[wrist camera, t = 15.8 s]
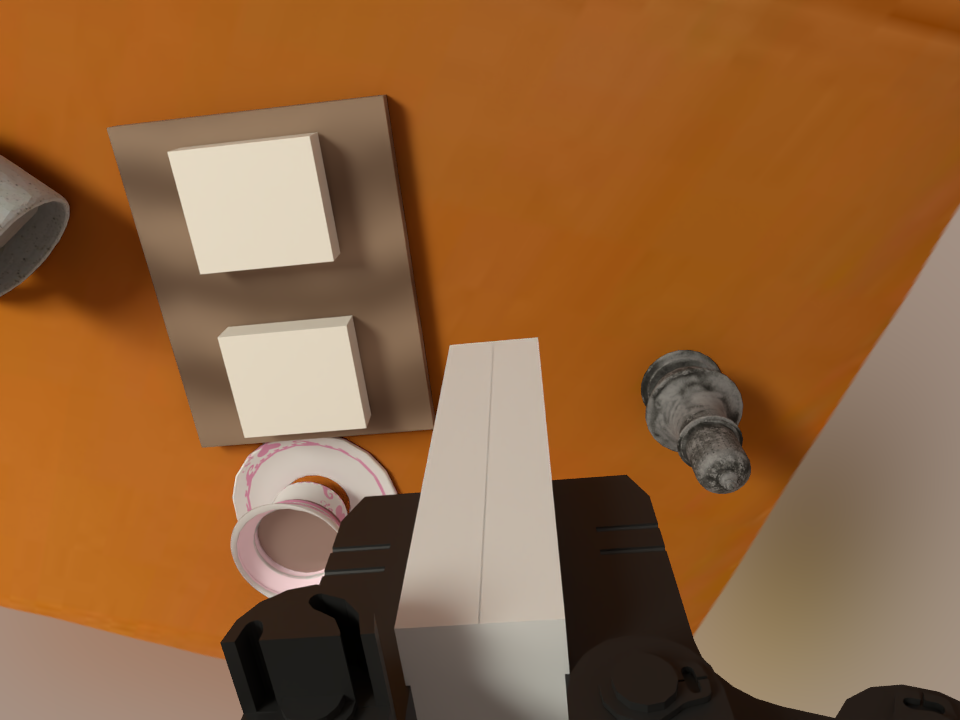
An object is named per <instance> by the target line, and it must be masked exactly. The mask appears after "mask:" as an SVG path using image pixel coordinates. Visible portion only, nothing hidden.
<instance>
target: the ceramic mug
mask: <svg viewBox="0 0 960 720" xmlns="http://www.w3.org/2000/svg"><path fill="white" fill-rule="evenodd" d="M69 216H70V206H69V204H68V202H67V201H66V199H65V198H64V197H63V196H61V195H60V194H59V193H57V192H56V191H54V190H53V189H51V188H49V187H48V186H46V185H45V184H44V183H42V182H41V181H39V180H38V179H36V178H35V177H33V176H32V175H30V174H29V173H27V172H26V171H24V170H23V169H22V168H20V167H19V166H17V165H15V164H14V163H12V162H11V161H9V160H8V159H6V158H5V157H3V156H2V155H0V296H2V295H4V294H5V293H7V292H9V291H11V290H12V289H14V288H15V287H16V286H18V285H19V284H21V283H22V282H23V281H24V280H25V279H26V278H28V277H29V276H30V275H31V274H32V273H33V272H34V271H35V270H36V269H37V268H38V267H39V266H40V265H41V264H42V263H43V262H44V261H45V260H46V258H47V257H48V256H49V255H50V253H51V251H52V250H53V249H54V247H55V245H56V244H57V243H58V242H59V240H60V238H61V236H62V234H63V232H64V230H65V228H66V226H67V223H68V220H69Z"/></svg>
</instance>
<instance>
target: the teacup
mask: <svg viewBox="0 0 960 720" xmlns="http://www.w3.org/2000/svg"><path fill="white" fill-rule="evenodd" d="M308 475H319V476H323V477H327V478H329V479H331V480H333V481H335V482H337V483H338V484H339V485H340V486H341V487H342V488H343V489H344V490H345V492H346V494H347V496H348V497H349V502H350V510H349V513H350V511H351V510H352V509H353V508H354V507H355V506H356V505H357V504H358V503H359V502H360V501H361V500H362V499H363V498H364V497H366V496H380V495H394V494H397V491H396V489H395V487H394V485H393V483H392V481H391V479H390V477H389V475H388V473H387V471H386V470H385V469H384V468H383V466H382V465H381V464H380V463H379V462H378V461H377V460H376V459H375V458H374V457H373V456H372V455H371V454H370V453H369V452H367V451H366V450H364V449H362V448H360V447H359V446H357V445H355V444H353V443H351V442H350V441H348V440H346V439H344V438H340V437H328V438H316V439H303V440H290V441H278V442H265V443H264V444H262V445H261V446H260V447H259V448H257V449H256V450H255V451H253V452H252V453H251V454H249V455H248V457H247V459H246V460H245V462H244V463H243V465H242V467H241V468H240V470H239V472H238V473H237V475H236V478H235V485H234V491H233V502H234V507H235V511H236V516H237V520H238V522H237V524H236V525H235V527H234V529H233V532H232V536H231V552H232V556H233V559H234V562H235V564H236V566H237V568H238V570H239V571H240V573H241V574H242V576H243V577H244V578H245V579H246V581H247V582H248V583H249V584H250V585H251V586H253V587H254V588H255V589H256V590H258V591H259V592H260V593H262V594H263V595H265V596H267V597H269V598H271V597H273V596H275V595H277V594H280V593H282V592H284V591H286V590H289V589H295V588H300V587H305V586H310V585H315V584H318V585H319V584H320V581H321V578H322V576H324V574H325V572H324V570H325V567H326V564H327V561H328V558H329V555H330V553H332V551H333V549H332V547H333V544H334V541H335V538H336V536H337V533H338V530H339V527H340V524H341V521H342V520H343V519H344V518H345V517H346V516H347V510H346V507H345V504H344V502H343V501H342V499H341V498H340V497H339V496H338V495H337V494H336V493H335V492H334V491H332V490H331V489H329V488H328V487H326V486H324V485H321V484H318V483H313V482H298V483H294V484H291V483H292V482H294V481H295V480H297V479H298V478H301V477H304V476H308ZM290 484H291V485H290Z"/></svg>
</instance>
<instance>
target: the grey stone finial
mask: <svg viewBox="0 0 960 720" xmlns="http://www.w3.org/2000/svg"><path fill="white" fill-rule="evenodd" d="M641 394H642V398H643V402H644V404H645V406H646V422H647V426H648V429H649V431H650V432H651V434H652V436H653V437H654V439H655V440H657V441H658V442H659V443H660V444H661V445H662V446H664V447H666V448H668V449H670V450H672V451H676V452H678V453H679V455H680V457H681V459H682V460H683V461H684V462H685V463H686V464H687V465H688V466H690V467H692V469H693V471H694V473H695V476H696V478H697V480H698V481H699V483H700V484H701V485H702V486H703V487H704V488H705V489H706V490H708V491H710V492H713V493H718V494H726V493H731V492H734V491H736V490H738V489H739V488H741V487H742V486H743V485H744V484H745V483H746V482H747V481H748V479H749V476H750V473H751V466H750V461H749V459H748V457H747V455H746V453H745V452H744V450H743V448H742V441H743V438H742V433H741V431H740V429H739V427H738V424H739V422H740V420H741V417H742V410H743V402H742V398H741V394H740V392H739V390H738V388H737V387H736V385H735V383H734V382H732V381H731V380H730V379H729V378H728V377H727V376H726V375H724V374H722V373H721V372H720V370H719V368H718V367H717V365H716V363H715V362H714V361H712V360H711V359H710V358H709V357H708V356H706V355H704V354H702V353H700V352H696V351H691V350H678V351H675V352H671V353H668V354H666V355H664V356H662V357H660V358H658V359H657V360H656V361H655V362H654V363H653V364H652V365H651V366H650V367H649V368H648V370H647V371H646V373H645V375H644V378H643V381H642V384H641Z"/></svg>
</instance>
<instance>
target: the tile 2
mask: <svg viewBox="0 0 960 720" xmlns="http://www.w3.org/2000/svg"><path fill="white" fill-rule="evenodd" d="M218 341H219V345H220V349H221V352H222V356H223V360H224V364H225V367H226V371H227V375H228V378H229V382H230V386H231V389H232V393H233V397H234V400H235V404H236V408H237V412H238V415H239V419H240V423H241V426H242V430H243V434H244V437H245V438H250V437H263V436H275V435H288V434H300V433H313V432H325V431H338V430H350V429H363V428H367V425H368V422H369V420H370V417H371V411H370V406H369V401H368V395H367V390H366V385H365V380H364V374H363V369H362V364H361V359H360V353H359V348H358V343H357V338H356V332H355V327H354V322H353V316H341V317H331V318H320V319H309V320H298V321H287V322H277V323H266V324H255V325H244V326H233V327H227V328H226V329H225V330H224V331H223V332H222V333H221V335H220V336H219V337H218Z"/></svg>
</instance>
